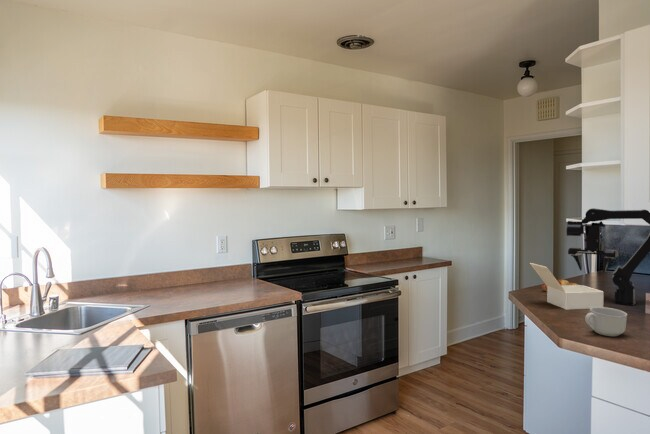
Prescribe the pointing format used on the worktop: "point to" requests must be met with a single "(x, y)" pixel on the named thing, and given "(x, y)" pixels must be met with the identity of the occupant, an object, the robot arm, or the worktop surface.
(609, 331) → the teacup
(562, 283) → the croissant
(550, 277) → the flap
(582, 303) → the carton
